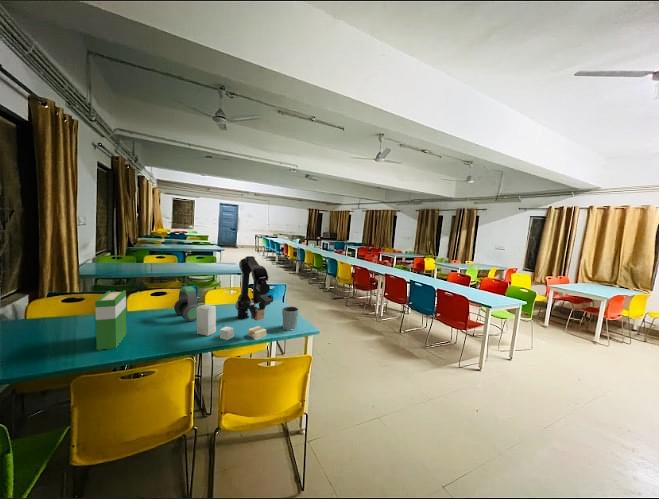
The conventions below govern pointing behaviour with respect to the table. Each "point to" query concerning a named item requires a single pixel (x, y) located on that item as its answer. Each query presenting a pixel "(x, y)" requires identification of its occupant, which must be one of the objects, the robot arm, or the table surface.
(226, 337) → the grey cube
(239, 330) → the table surface
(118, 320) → the hardback book
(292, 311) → the grey cup
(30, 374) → the table surface
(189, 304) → the headphones
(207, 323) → the skincare box
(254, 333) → the maple block
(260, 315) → the walnut cube
